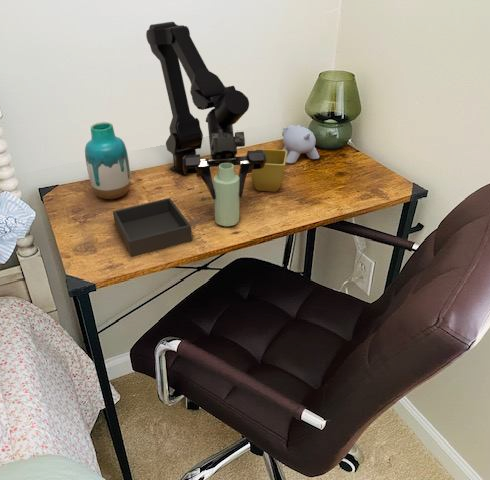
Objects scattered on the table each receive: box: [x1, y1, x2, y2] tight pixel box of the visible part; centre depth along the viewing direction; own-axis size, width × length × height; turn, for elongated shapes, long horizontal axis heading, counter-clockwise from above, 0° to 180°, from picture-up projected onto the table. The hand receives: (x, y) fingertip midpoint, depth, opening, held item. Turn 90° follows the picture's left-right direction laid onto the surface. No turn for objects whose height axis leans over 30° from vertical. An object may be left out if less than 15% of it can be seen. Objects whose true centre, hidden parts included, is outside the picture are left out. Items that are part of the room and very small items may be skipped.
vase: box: [84, 121, 132, 200], centre depth 124 cm, size 11×11×19 cm
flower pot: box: [250, 148, 287, 193], centre depth 127 cm, size 9×9×9 cm
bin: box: [112, 197, 193, 258], centre depth 112 cm, size 14×14×4 cm
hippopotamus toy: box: [281, 124, 320, 164], centre depth 143 cm, size 11×15×10 cm
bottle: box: [213, 163, 240, 227], centre depth 112 cm, size 6×6×14 cm
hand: (227, 198), depth 111 cm, fingers closed on bottle, 6 cm apart
